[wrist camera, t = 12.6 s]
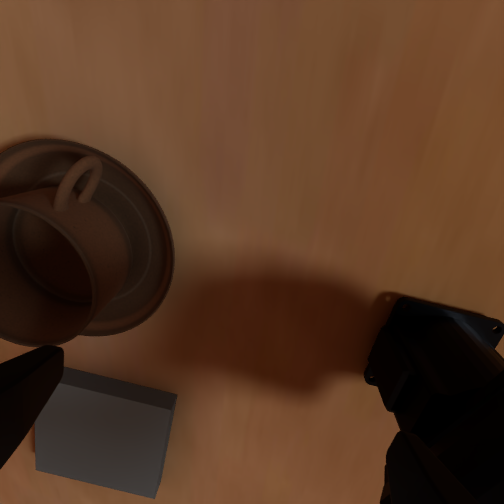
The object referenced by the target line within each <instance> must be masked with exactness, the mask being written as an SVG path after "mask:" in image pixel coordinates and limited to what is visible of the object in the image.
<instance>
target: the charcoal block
mask: <svg viewBox="0 0 504 504" xmlns="http://www.w3.org/2000/svg"><path fill="white" fill-rule="evenodd" d="M176 399H177V394H173V393H169V392H165V391H161V390H157V389H153V388H149V387H145V386H141V385H137V384H133V383H128V382H124V381H120V380H116V379H112V378H108V377H104V376H100V375H96V374H92V373H88V372H84V371H80V370H76V369H72V368H68V367H64V372H63V376H62V379H61V381H60V383H59V384H58V386H57V387H56V389H55V391H54V392H53V394H52V395H51V397H50V398H49V400H48V402H47V403H46V405H45V406H44V408H43V410H42V411H41V413H40V414H39V416H38V418H37V419H36V421H35V457H36V470H38V471H42V472H46V473H50V474H54V475H58V476H62V477H66V478H71V479H75V480H79V481H83V482H87V483H91V484H95V485H99V486H103V487H108V488H112V489H116V490H120V491H124V492H128V493H132V494H136V495H140V496H145V497H149V498H153V499H155V497H156V494H157V491H158V488H159V485H160V482H161V477H162V472H163V467H164V462H165V456H166V451H167V446H168V441H169V435H170V430H171V425H172V420H173V414H174V409H175V404H176Z"/></svg>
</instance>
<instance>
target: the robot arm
mask: <svg viewBox="0 0 504 504" xmlns="http://www.w3.org/2000/svg"><path fill="white" fill-rule="evenodd" d="M405 304H408V306H407V307H406V308H402V306H403V305H405ZM496 326H497V328H496V329H494V330H493V328H494V327H496ZM503 335H504V324H503V323H502V322H501V321H500V320H498V319H494V318H490V317H486V316H482V315H478V314H474V313H470V312H466V311H461V310H457V309H453V308H449V307H445V306H441V305H437V304H433V303H429V302H425V301H421V300H416V299H412V298H408V297H402V298H400V299H398V300H397V301H396V303H395V305H394V307H393V310H392V312H391V314H390V316H389V318H388V321H387V323H386V325H385V326H384V327H382V328H381V330H380V332H379V334H378V336H377V338H376V341H375V343H374V345H373V347H372V350H371V352H370V354H369V356H368V362H369V363H368V365H367V367H366V369H365V372H364V378H365V381H366V383H367V384H369V385H373V386H377V387H378V389H379V392H380V395H381V398H382V400H383V403H384V406H385V407H386V409H387V411H389V412H393V413H394V415H395V418H396V420H397V423H398V426H399V428H400V431H399V432H398V433H397V434H396V436H395V438H394V439H393V441H392V443H391V445H390V447H389V448H388V450H387V454H386V465H385V479H384V487H383V491H382V495H381V499H380V504H504V358H503V357H502V356H501V355H500V354H499V353H498V352H497V351H496V350H495V348H496V346H497V345H498V343H499V341H500V340H501V338H502V336H503ZM63 372H64V351H63V349H62V348H61V347H57V346H53V345H44V346H41V347H39V348H37V349H34V350H32V351H29V352H27V353H25V354H22V355H20V356H18V357H15V358H13V359H10V360H8V361H6V362H3V363H1V364H0V469H1V468H2V467H3V465H4V464H5V463H6V462H7V460H8V459H9V458H10V456H11V455H12V454H13V452H14V451H15V450H16V449H17V447H18V446H19V444H20V443H21V442H22V440H23V439H24V438H25V436H26V435H27V433H28V432H29V430H30V429H31V427H32V425H33V424H34V422H35V421H36V419H37V418H38V416H39V414H40V413H41V411H42V410H43V408H44V406H45V405H46V403H47V402H48V400H49V398H50V397H51V395H52V394H53V392H54V391H55V389H56V387H57V386H58V384H59V383H60V381H61V379H62V376H63ZM370 376H374V377H372V378H370Z"/></svg>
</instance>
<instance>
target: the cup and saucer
mask: <svg viewBox="0 0 504 504" xmlns="http://www.w3.org/2000/svg"><path fill="white" fill-rule="evenodd" d="M174 263H175V252H174V243H173V238H172V233H171V230H170V227H169V224H168V221H167V219H166V216H165V214H164V212H163V210H162V208H161V206H160V204H159V203H158V201H157V200H156V198H155V197H154V195H153V194H152V192H151V191H150V190H149V189H148V187H147V186H146V185H145V184H144V183H143V182H142V181H141V180H140V179H139V177H138V176H137V175H135V174H134V173H133V172H132V171H131V170H130V169H129V168H127V167H126V166H125V165H123V164H122V163H120V162H119V161H118V160H116V159H114V158H113V157H111V156H109V155H107V154H105V153H103V152H101V151H99V150H97V149H94V148H92V147H89V146H86V145H83V144H79V143H76V142H71V141H66V140H56V139H40V140H33V141H28V142H24V143H21V144H18V145H15V146H13V147H11V148H9V149H7V150H6V151H4V152H2V153H1V154H0V338H2V339H4V340H7V341H9V342H12V343H15V344H19V345H23V346H29V347H41V346H44V345H53V346H56V345H60V344H63V343H65V342H68V341H70V340H71V339H73V338H75V337H76V336H77V335H84V336H108V335H114V334H118V333H122V332H125V331H128V330H130V329H132V328H134V327H136V326H138V325H140V324H141V323H143V322H144V321H146V320H147V319H148V318H149V317H151V316H152V315H153V314H154V312H155V311H156V310H157V309H158V308H159V306H160V305H161V304H162V302H163V300H164V299H165V297H166V295H167V293H168V290H169V288H170V285H171V281H172V277H173V272H174Z"/></svg>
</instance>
